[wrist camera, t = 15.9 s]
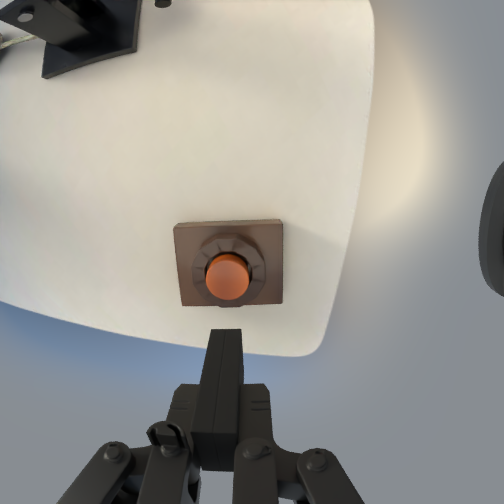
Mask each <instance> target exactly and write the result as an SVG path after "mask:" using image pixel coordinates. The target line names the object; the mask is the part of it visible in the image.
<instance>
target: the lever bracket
mask: <svg viewBox="0 0 504 504" xmlns="http://www.w3.org/2000/svg"><path fill="white" fill-rule="evenodd" d="M141 1H142V0H14V1H12V2H11V3H9V4H8V5H6V6H5V7H3V8H2V9H0V20H1V21H4V22H6V23H8V24H10V25H13V26H15V27H17V28H19V29H22V30H24V31H26V32H28V33H30V34H32V35H35V36H37V37H39V38H41V39H43V40H45V41H46V46H45V52H44V58H43V65H42V73H41V77H42V78H45V79H48V78H51V77H54V76H56V75H59V74H61V73H64V72H67V71H70V70H73V69H76V68H79V67H82V66H85V65H88V64H91V63H95V62H98V61H101V60H105V59H109V58H112V57H116V56H120V55H125V54H129V53H133V52H136V48H137V36H138V26H139V16H140V8H141Z"/></svg>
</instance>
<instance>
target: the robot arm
mask: <svg viewBox="0 0 504 504" xmlns="http://www.w3.org/2000/svg"><path fill="white" fill-rule="evenodd" d="M503 256H504V229H503ZM243 383H244V365H243V349H242V333H241V329H211V333H210V337H209V342H208V346H207V351H206V356H205V361H204V365H203V370H202V375H201V380H200V384H198V385H196V384H181V385H180V386H179V387H178V388H177V389H176V390H175V392H174V395H173V398H172V402H171V405H170V409H169V412H168V415H167V419H166V421H160V422H157V423H155V424H153V425H152V426H151V427H149V429H148V430H147V432H146V433H147V435H148V437H149V440H150V442H151V444H152V445H150V446H146V447H140V448H131V449H129V447H128V446H127V445H125V444H124V443H121V442H117V441H115V442H109V443H106V444H104V445H103V446H102V447H100V448H99V450H98V451H97V452H96V454H95V455H94V456H93V458H92V459H91V460H90V461H89V463H88V464H87V465H86V466H85V468H84V469H83V470H82V472H81V473H80V474H79V476H78V477H77V478H76V479H75V481H74V482H73V483H72V485H71V486H70V487H69V488H68V489H67V491H66V492H65V493H64V494H63V496H62V497H61V498H60V500H59V501H58V502H57V503H56V504H199V497H200V488H201V477H200V475H199V473H200V467H201V468H202V470H205V471H226V472H234V478H233V500H232V504H279V501H278V497H280V498H285V499H291V500H293V502H294V504H365V503H364V502H363V500H362V499H361V497H360V495H359V494H358V492H357V491H356V489H355V487H354V486H353V484H352V482H351V481H350V479H349V478H348V476H347V474H346V473H345V471H344V469H343V468H342V466H341V465H340V463H339V461H338V460H337V458H336V456H334V454H333V453H332V452H330V451H328V450H326V449H320V448H315V449H309V450H308V451H305V452H303V453H302V454H300V453H294V452H289V451H286V450H284V449H282V448H280V447H279V446H278V445H277V444H276V443H275V441H274V439H273V431H272V418H271V406H270V393H269V390H268V389H267V387H266V386H265V385H264V384H243Z"/></svg>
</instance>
